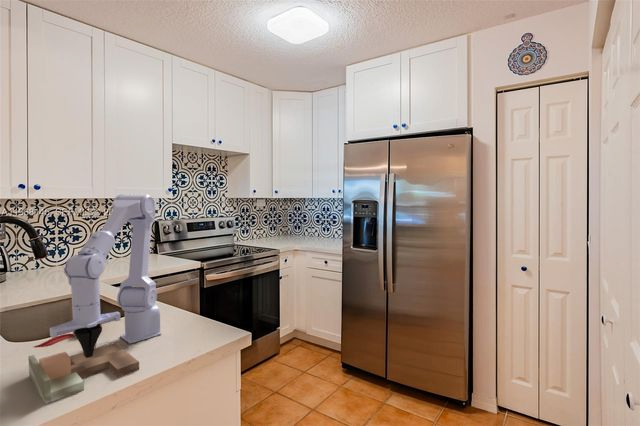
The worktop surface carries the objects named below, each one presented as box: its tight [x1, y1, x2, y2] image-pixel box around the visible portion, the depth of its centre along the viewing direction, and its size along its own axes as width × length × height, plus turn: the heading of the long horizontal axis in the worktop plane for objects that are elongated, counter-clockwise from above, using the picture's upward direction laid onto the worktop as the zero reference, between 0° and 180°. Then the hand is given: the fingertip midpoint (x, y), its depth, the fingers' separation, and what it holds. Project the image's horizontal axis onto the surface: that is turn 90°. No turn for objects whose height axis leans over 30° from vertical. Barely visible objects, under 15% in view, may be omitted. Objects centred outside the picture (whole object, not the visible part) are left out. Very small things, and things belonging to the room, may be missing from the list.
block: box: [38, 351, 71, 381], centre depth 81 cm, size 5×4×4 cm
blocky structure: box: [27, 342, 140, 405], centre depth 85 cm, size 19×16×5 cm
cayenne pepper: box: [33, 333, 75, 348], centre depth 103 cm, size 12×5×2 cm, turn 132°
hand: (88, 355), depth 86 cm, fingers closed
